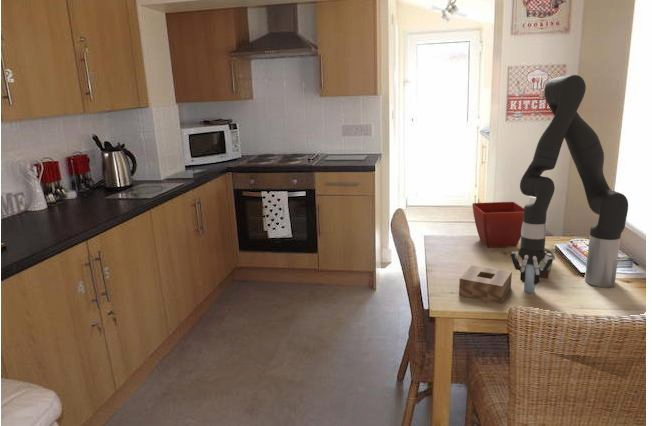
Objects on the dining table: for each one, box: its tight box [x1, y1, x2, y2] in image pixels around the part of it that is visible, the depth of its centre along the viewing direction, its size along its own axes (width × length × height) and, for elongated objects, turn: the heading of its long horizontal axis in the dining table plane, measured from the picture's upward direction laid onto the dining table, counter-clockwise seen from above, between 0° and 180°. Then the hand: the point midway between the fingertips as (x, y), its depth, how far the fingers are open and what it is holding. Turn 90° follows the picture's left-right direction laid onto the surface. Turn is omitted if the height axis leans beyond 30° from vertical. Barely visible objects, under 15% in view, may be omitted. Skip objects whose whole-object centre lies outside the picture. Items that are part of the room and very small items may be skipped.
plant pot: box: [472, 201, 524, 248], centre depth 212 cm, size 19×19×17 cm
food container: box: [520, 247, 556, 281], centre depth 176 cm, size 12×6×10 cm, turn 47°
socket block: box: [458, 265, 513, 304], centre depth 164 cm, size 14×14×6 cm
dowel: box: [523, 264, 536, 294], centre depth 162 cm, size 3×3×10 cm
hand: (529, 282), depth 163 cm, fingers closed on dowel, 3 cm apart
